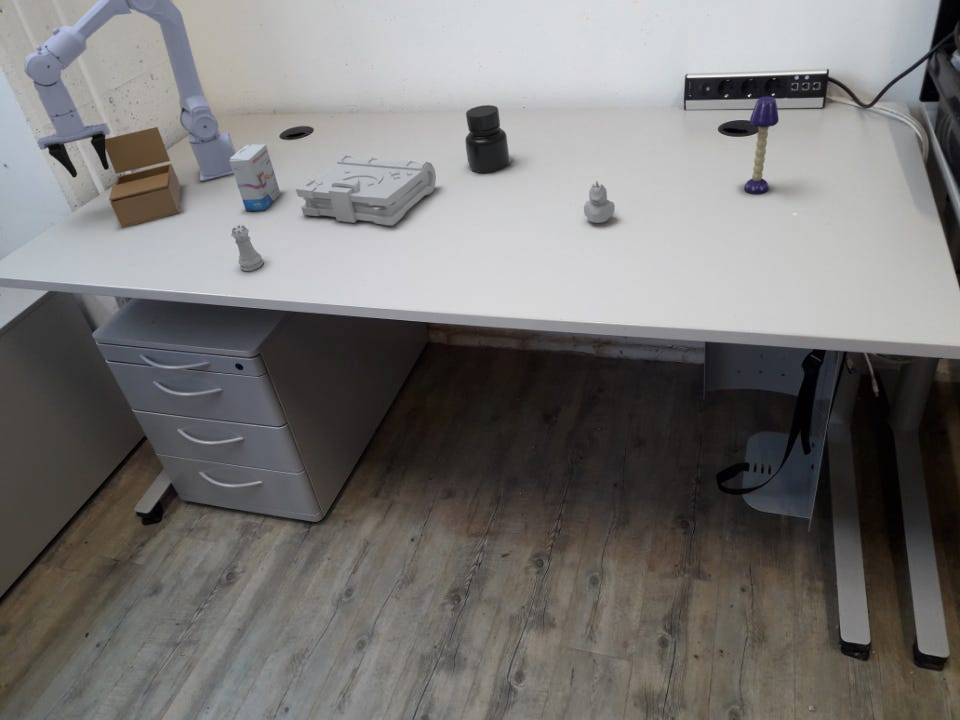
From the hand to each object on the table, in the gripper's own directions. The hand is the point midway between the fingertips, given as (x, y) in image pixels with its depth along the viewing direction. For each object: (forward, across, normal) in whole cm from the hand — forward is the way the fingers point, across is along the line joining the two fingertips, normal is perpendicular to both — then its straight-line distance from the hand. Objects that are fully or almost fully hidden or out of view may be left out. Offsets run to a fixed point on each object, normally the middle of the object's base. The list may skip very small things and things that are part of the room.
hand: (91, 172), depth 169 cm
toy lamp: (+10, -123, +70) cm, 142 cm away
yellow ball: (+7, -12, 0) cm, 14 cm away
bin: (+10, -10, +4) cm, 14 cm away
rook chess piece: (+10, -31, +47) cm, 57 cm away
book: (+10, -55, +31) cm, 64 cm away
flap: (-1, -10, -5) cm, 11 cm away
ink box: (+10, -35, +18) cm, 40 cm away
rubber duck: (+10, -94, +65) cm, 115 cm away
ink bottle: (+10, -84, +29) cm, 89 cm away
